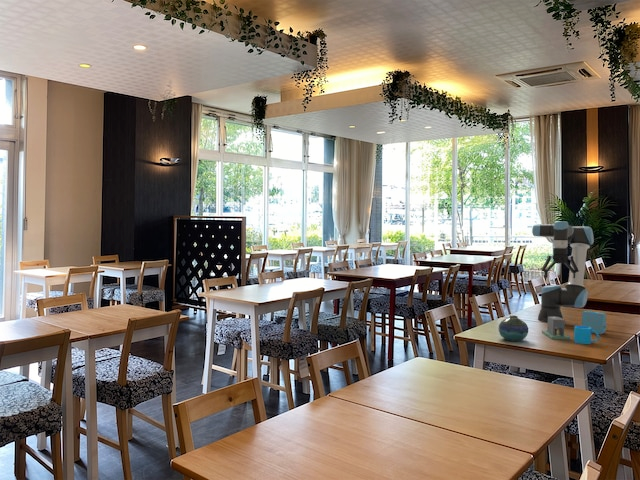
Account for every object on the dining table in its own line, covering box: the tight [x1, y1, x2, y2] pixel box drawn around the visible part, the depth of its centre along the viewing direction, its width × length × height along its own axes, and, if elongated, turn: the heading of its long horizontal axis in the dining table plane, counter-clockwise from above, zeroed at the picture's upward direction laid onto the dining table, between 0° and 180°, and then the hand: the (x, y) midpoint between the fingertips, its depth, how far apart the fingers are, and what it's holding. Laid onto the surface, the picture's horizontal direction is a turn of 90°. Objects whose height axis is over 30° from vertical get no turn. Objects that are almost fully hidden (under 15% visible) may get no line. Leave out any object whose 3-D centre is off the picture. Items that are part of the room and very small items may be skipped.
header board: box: [541, 328, 571, 340], centre depth 283 cm, size 16×10×4 cm, turn 174°
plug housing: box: [546, 317, 566, 336], centre depth 283 cm, size 9×6×9 cm, turn 174°
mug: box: [573, 325, 600, 345], centre depth 268 cm, size 12×8×8 cm
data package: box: [580, 310, 607, 335], centre depth 293 cm, size 12×4×12 cm, turn 41°
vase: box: [497, 314, 529, 342], centre depth 273 cm, size 15×15×13 cm
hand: (559, 283), depth 291 cm, fingers open, 13 cm apart
